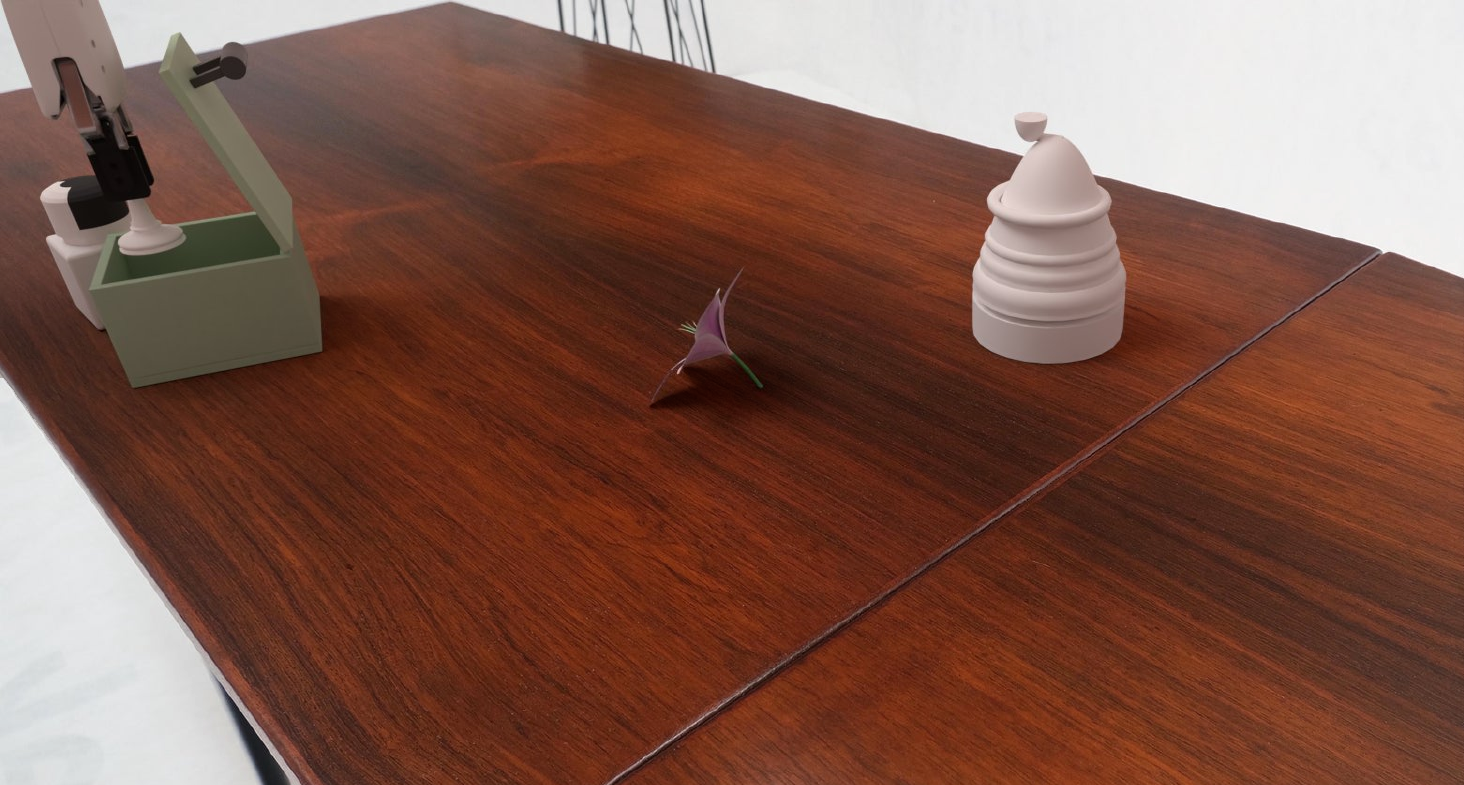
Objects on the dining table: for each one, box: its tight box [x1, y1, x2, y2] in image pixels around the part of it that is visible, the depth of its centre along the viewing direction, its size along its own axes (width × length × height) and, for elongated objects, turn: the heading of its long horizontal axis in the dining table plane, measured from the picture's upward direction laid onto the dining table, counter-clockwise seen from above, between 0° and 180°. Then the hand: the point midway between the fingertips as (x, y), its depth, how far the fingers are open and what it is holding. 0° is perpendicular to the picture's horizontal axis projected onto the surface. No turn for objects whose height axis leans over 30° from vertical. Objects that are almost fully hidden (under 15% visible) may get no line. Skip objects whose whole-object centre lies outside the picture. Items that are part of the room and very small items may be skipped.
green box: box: [89, 211, 323, 389], centre depth 104 cm, size 15×13×9 cm
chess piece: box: [107, 123, 186, 256], centre depth 97 cm, size 5×5×10 cm
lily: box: [648, 265, 764, 407], centre depth 95 cm, size 12×12×10 cm
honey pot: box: [971, 111, 1127, 365], centre depth 98 cm, size 13×13×18 cm
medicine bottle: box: [39, 174, 133, 331], centre depth 109 cm, size 7×7×12 cm
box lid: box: [158, 31, 293, 252], centre depth 99 cm, size 16×13×5 cm
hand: (131, 191), depth 97 cm, fingers closed on chess piece
